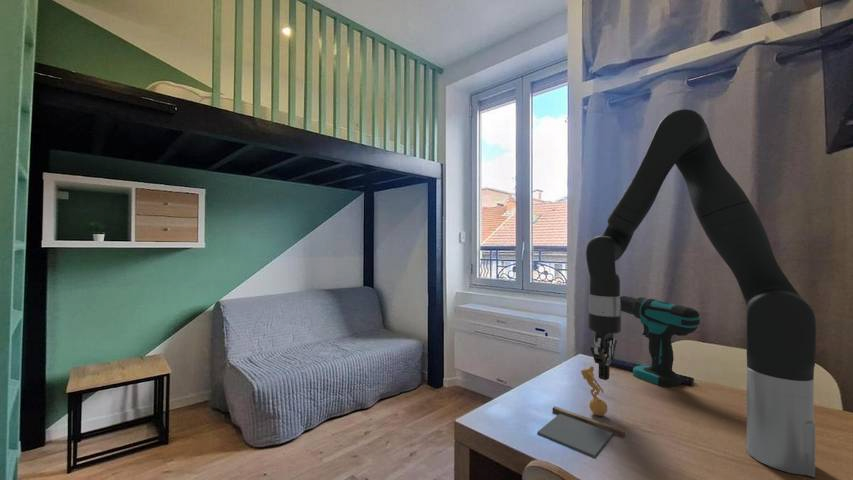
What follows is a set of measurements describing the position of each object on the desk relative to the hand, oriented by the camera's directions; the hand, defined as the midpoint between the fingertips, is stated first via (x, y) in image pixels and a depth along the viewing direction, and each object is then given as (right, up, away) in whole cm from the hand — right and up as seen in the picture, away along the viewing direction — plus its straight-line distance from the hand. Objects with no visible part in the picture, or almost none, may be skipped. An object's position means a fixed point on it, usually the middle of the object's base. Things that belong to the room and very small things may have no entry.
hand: (604, 378), depth 91 cm
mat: (-13, -7, -14) cm, 20 cm away
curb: (-9, -7, -9) cm, 14 cm away
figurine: (-5, -7, -5) cm, 10 cm away
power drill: (+25, -8, +20) cm, 33 cm away
